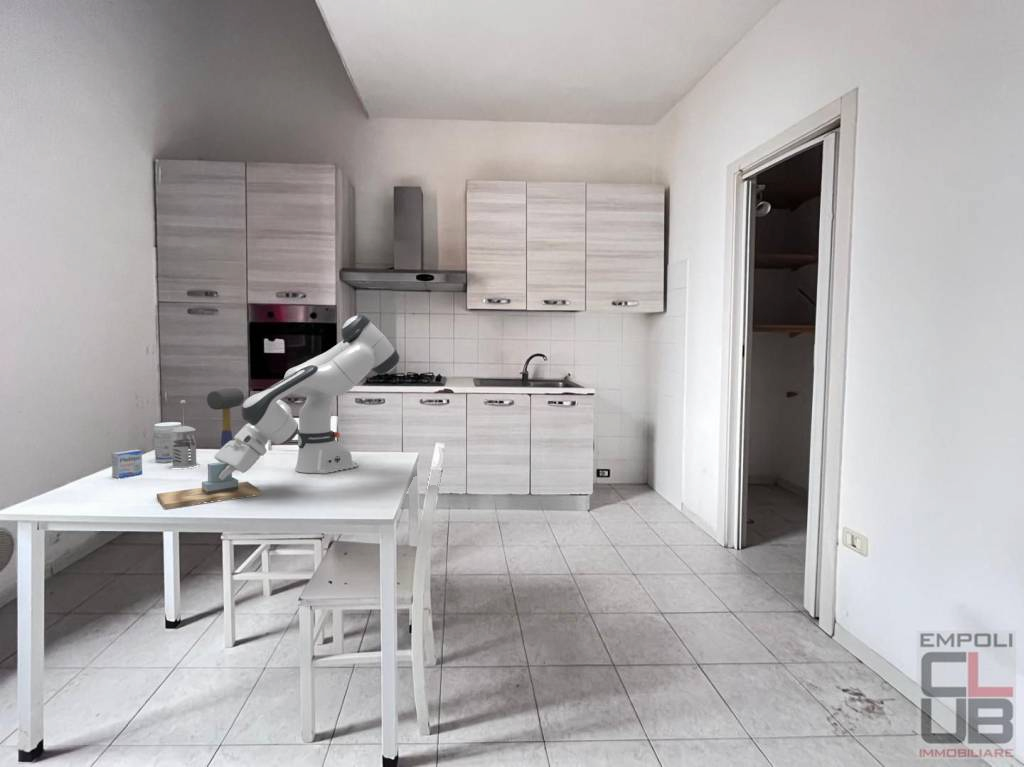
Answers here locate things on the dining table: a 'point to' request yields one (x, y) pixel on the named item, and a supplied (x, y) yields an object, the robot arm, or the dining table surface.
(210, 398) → the rubber mallet
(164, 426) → the supplement tub
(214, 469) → the block
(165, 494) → the oak board
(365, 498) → the dining table surface
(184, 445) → the french press
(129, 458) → the medicine box
